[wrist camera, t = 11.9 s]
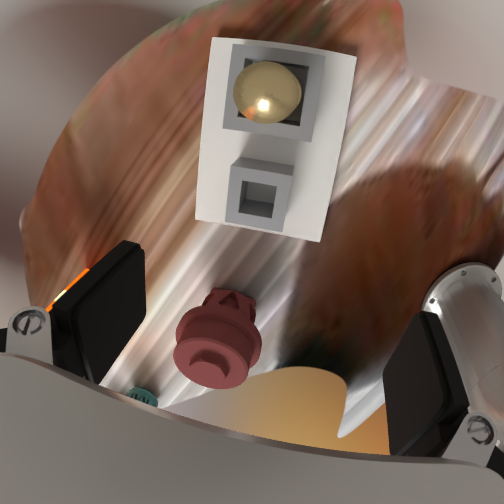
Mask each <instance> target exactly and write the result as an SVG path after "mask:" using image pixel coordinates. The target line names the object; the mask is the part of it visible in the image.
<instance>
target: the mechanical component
mask: <svg viewBox="0 0 504 504" xmlns="http://www.w3.org/2000/svg"><path fill="white" fill-rule="evenodd" d="M254 307H255V300H254V299H253V298H250V297H245V296H244V295H242V294H240V293H238V292H236V291H232V290H220V289H218V288H213V289H212V290H211V292H210V294H209V295H208V296H207V297H206V298H205V300H204V302H203V304H202V306H198V307H195V308H193V309H191V310H189V311H188V312H187V313H185V314H184V316H183V317H182V319H181V320H180V322H179V324H178V326H177V329H176V341H177V345H176V347H175V350H174V354H173V357H174V361H175V364H176V366H177V367H178V369H179V370H180V371H181V372H182V373H183V374H184V375H185V376H186V377H187V378H189V379H190V380H192V381H193V382H195V383H197V384H199V385H202V386H205V387H209V388H213V389H229V388H234V387H236V386H238V385H240V384H242V383H243V382H244V381H245V380H246V378H247V376H248V372H249V369H250V368H251V367H252V366H254V365H255V364H256V362H257V361H258V359H259V356H260V352H261V347H262V339H261V336H260V333H259V331H258V329H257V328H256V326H255V325H254V322H255V317H256V312H255V308H254Z"/></svg>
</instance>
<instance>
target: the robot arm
mask: <svg viewBox="0 0 504 504" xmlns="http://www.w3.org/2000/svg"><path fill="white" fill-rule="evenodd" d="M501 293H502V287H501V282H500V279H499V277H498V275H497V274H496V272H495V271H494V270H493V269H492V268H491V267H490V266H488V265H486V264H484V263H480V262H469V263H463V264H461V265H458V266H455V267H453V268H452V269H450V270H448V271H447V272H445V273H444V274H443V275H442V276H440V277H439V278H438V279H437V280H436V281H435V282H434V284H433V285H432V286H431V288H430V289H429V290H428V292H427V294H426V296H425V299H424V302H423V305H422V311H421V312H420V313H419V314H415V315H414V317H413V318H412V320H411V322H410V324H409V326H408V328H407V330H406V331H405V333H404V335H403V337H402V339H401V340H400V342H399V344H398V346H397V347H396V349H395V351H394V353H393V354H392V356H391V358H390V359H389V361H388V363H387V364H386V366H385V368H384V371H383V384H384V393H385V402H386V411H387V423H388V435H389V449H390V455H379V454H367V453H356V452H347V451H338V450H330V449H323V448H316V447H310V446H304V445H298V444H292V443H287V442H282V441H276V440H272V439H267V438H262V437H257V436H253V435H249V434H245V433H241V432H236V431H232V430H229V429H225V428H221V427H217V426H213V425H210V424H207V423H203V422H200V421H197V420H193V419H190V418H187V417H183V416H180V415H177V414H174V413H171V412H168V411H165V410H162V409H159V408H157V407H154V406H151V405H148V404H145V403H143V402H140V401H137V400H135V399H132V398H130V397H127V396H125V395H122V394H120V393H117V392H115V391H112V390H110V389H107V388H105V387H102V386H100V385H98V384H100V382H101V381H102V380H103V378H104V377H105V375H106V374H107V372H108V371H109V369H110V368H111V366H112V365H113V363H114V362H115V360H116V359H117V357H118V356H119V355H120V353H121V352H122V350H123V349H124V347H125V346H126V344H127V343H128V342H129V340H130V339H131V337H132V336H133V334H134V333H135V332H136V330H137V329H138V327H139V326H140V324H141V323H142V322H143V320H144V318H145V315H146V292H145V253H144V250H143V249H141V247H140V245H139V244H138V243H134V242H130V241H126V240H123V241H122V242H120V243H119V244H118V245H117V246H116V247H115V248H114V249H112V250H111V251H110V252H109V253H108V254H107V255H106V256H104V257H103V258H102V259H101V260H100V261H99V262H98V263H96V264H95V265H94V266H93V267H92V268H91V269H90V270H89V271H88V272H86V273H85V274H84V275H83V276H82V277H81V278H80V279H79V280H78V281H77V282H76V283H75V284H73V285H72V286H71V287H70V288H69V289H68V290H67V291H66V292H65V293H64V294H63V295H62V296H61V297H60V298H59V299H58V300H57V301H56V302H55V303H53V304H52V309H51V310H50V311H49V312H47V311H46V310H45V309H43V308H41V307H36V306H30V307H26V308H23V309H20V310H18V311H17V312H16V313H14V314H13V315H12V317H11V318H10V320H9V323H8V328H3V329H0V504H504V302H503V301H502V300H501ZM497 440H500V444H499V446H498V447H496V446H495V444H496V441H497Z"/></svg>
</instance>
